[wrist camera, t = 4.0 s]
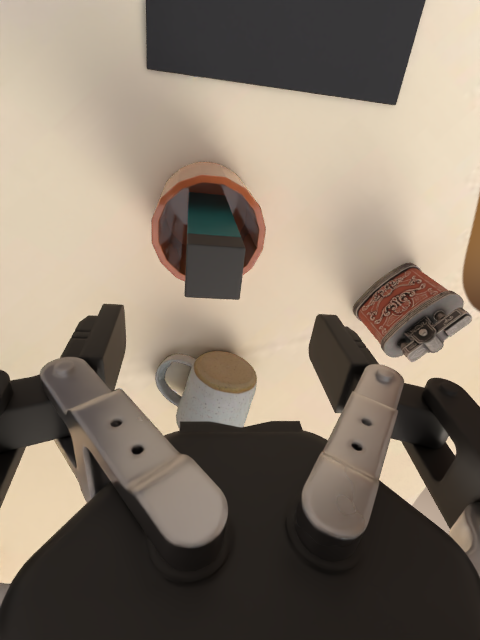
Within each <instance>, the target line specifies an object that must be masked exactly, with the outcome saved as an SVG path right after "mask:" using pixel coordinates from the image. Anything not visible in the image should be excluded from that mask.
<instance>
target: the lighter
mask: <svg viewBox="0 0 480 640" xmlns="http://www.w3.org/2000/svg"><path fill="white" fill-rule="evenodd" d="M353 312H354V314H355V316H356V317H357V318H358V319H359V320H360V321H362V322H363V323H364V324H365V325H366V327H367V328H368V329H369V330H370V332H371V333H372V334H373V335H374V337H375V338H376V339H377V340H378V342H379V343H380V344H381V348H382V349H383V351H384V352H385V353H386V354H387V355H388V356H390V357H399V356H402V355H403V354H404V355H405V356H406V357H407V358H408V360H409V361H411V362H414V361H416V360H418V359H419V358H420V357H422V356H423V355H425V354H426V353H429V352H431V353H435V352H438V351H439V350H441V349H442V347H443V342H444V340H445V339H447V338H448V337H451V336H452V335H454V334H455V333H456V332H458V331H459V330H461V329H462V328H463V327H465V326H466V325H468V324H469V323H470V322H471V321H472V316H471V315H470V314H469V313H468V312H467V311H465V310H464V309H463V299H462V298H461V297H460V296H459V295H458V294H456V293H455V292H453V291H448V290H447V289H445V288H444V287H443V286H441V285H440V284H438V283H437V282H435V281H434V280H433V279H431V278H430V277H428V276H427V275H426V274H424V273H423V272H422V271H421V269H420V268H419V267H417V266H416V265H414V264H412V263H405V264H403V265H401V266H399V267H398V268H396V269H394V270H393V271H391V272H389V273H388V274H387V275H385V276H384V277H383V278H381V279H380V280H379V281H377V282H376V283H375V284H374V285H373V286H372V287H371V288H370V289H368V290H367V291H366V292H365V293H364V294H363V296H362V297H361V298H360V299H359V300H358V301H357V302H356V303H355V305H354V307H353Z"/></svg>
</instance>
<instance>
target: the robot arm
mask: <svg viewBox="0 0 480 640" xmlns="http://www.w3.org/2000/svg"><path fill="white" fill-rule="evenodd" d="M125 349H126V329H125V312H124V306H123V305H116V304H103V306H102V308H101V310H100V312H99V314H98V316H87V317H86V318H85V319H83V320H82V321H80V322H79V324H78V326H77V328H76V329H75V332H74V333H73V335H72V338H71V339H70V341H69V342H68V344H67V346H66V348H65V350H64V352H63V353H62V355H61V357H60V358H59V359H56V360H53V361H51V362H49V363H47V364H46V365H45V366H44V367H43V368H42V369H41V371H40V375H37V376H33V377H29V378H23V379H18V380H12V381H10V378H9V375H8V374H7V373H6V372H4V371H2V370H0V508H1V505H2V503H3V501H4V498H5V496H6V493H7V491H8V489H9V486H10V484H11V481H12V479H13V477H14V474H15V472H16V469H17V467H18V465H19V462H20V460H21V458H22V455H23V453H24V450H25V448H26V446H30V445H34V444H38V443H42V442H46V441H50V440H54V441H55V443H56V444H57V446H58V448H59V449H60V451H61V453H62V454H63V456H64V458H65V459H66V461H67V463H68V464H69V466H70V468H71V469H72V471H73V473H74V474H75V476H76V478H77V480H78V482H79V485H80V488H81V491H82V493H83V496H84V498H85V500H86V502H87V504H86V505H85V506H84V507H83V508H81V509H80V510H79V511H78V512H77V513H76V514H75V515H74V516H73V517H72V518H71V519H70V520H69V521H68V522H67V523H66V524H65V525H64V526H63V527H62V528H61V529H60V530H58V531H57V532H56V533H55V534H54V535H53V536H52V537H51V538H50V539H49V540H48V541H47V542H46V543H45V544H44V545H43V546H42V547H41V548H40V549H39V550H38V551H37V552H35V553H34V554H33V555H32V556H31V557H30V559H29V560H28V561H27V562H26V563H25V564H24V565H23V567H22V568H21V569H20V571H19V572H18V573H17V575H16V576H15V578H14V579H13V581H12V583H11V584H4V583H0V640H480V407H479V406H478V405H477V403H476V402H475V401H474V400H473V399H472V398H471V397H470V395H469V394H468V393H467V392H466V391H465V390H464V389H463V388H462V387H460V386H459V385H457V384H455V383H453V382H451V381H449V380H446V379H442V378H432V379H429V380H428V382H427V384H426V386H425V388H423V387H419V386H415V385H410V384H406V383H404V379H403V377H402V376H401V375H400V374H399V373H398V372H397V371H395V370H393V369H392V368H389V367H387V366H384V365H379V364H378V362H377V361H376V359H375V358H374V357H373V355H372V354H371V353H370V351H369V350H368V348H366V346H365V344H364V343H363V342H362V340H361V339H360V337H359V336H358V335H357V333H355V332H354V331H353V330H351V329H350V328H349V327H344V325H343V324H342V322H341V321H340V319H339V318H338V317H337V316H336V315H325V314H319V315H318V316H317V317H316V320H315V324H314V328H313V332H312V336H311V340H310V343H309V357H310V360H311V362H312V364H313V366H314V368H315V371H316V373H317V375H318V377H319V379H320V381H321V384H322V386H323V388H324V390H325V392H326V394H327V396H328V399H329V401H330V403H331V405H332V407H333V409H334V412H335V413H341V415H340V417H339V419H338V421H337V423H336V425H335V427H334V429H333V431H332V433H331V435H330V437H329V439H328V440H326V439H324V438H322V437H320V436H318V435H316V434H313V433H310V432H307V431H303V430H302V427H301V424H300V421H270V422H266V423H261V424H257V425H252V426H248V427H236V426H231V425H226V424H221V423H216V422H211V421H180V431H177V432H173V433H170V434H167V435H165V436H163V435H162V433H161V432H160V431H159V430H158V429H157V428H156V427H155V426H154V424H153V423H152V422H151V421H150V420H149V419H148V418H147V417H146V416H145V414H144V413H143V412H142V411H141V410H140V409H139V408H138V407H137V406H136V404H135V403H134V402H133V401H132V400H131V399H130V398H129V397H128V396H127V394H126V393H125V392H124V391H123V390H121V389H116V390H114V389H115V386H116V382H117V379H118V375H119V372H120V368H121V365H122V361H123V358H124V354H125ZM448 436H450V438H451V439H452V441H453V442H454V444H455V446H456V457H455V455H454V454H453V452H452V451H451V449H450V448H449V447H448V445H447V444H446V440H447V438H448ZM390 438H392V439H396V440H400V441H402V443H403V445H404V447H405V449H406V450H407V452H408V454H409V456H410V458H411V459H412V461H413V463H414V465H415V467H416V469H417V470H418V472H419V474H420V476H421V478H422V479H423V481H424V483H425V485H426V487H427V488H428V490H429V492H430V494H431V496H432V497H433V499H434V501H435V503H436V505H437V506H438V508H439V510H440V512H441V513H442V515H443V517H444V519H445V521H446V522H447V524H448V526H449V528H450V531H449V535H448V534H447V533H446V532H445V531H443V530H442V529H441V528H440V527H438V526H437V525H436V524H435V523H433V522H432V521H431V520H429V519H428V518H427V517H426V516H424V515H423V514H422V513H420V512H419V511H418V510H417V509H415V508H414V507H413V506H411V505H410V504H409V503H408V502H406V501H405V500H404V499H403V498H401V497H400V496H399V495H397V494H396V493H395V492H394V491H392V490H391V489H390V488H389V487H387V486H386V485H385V484H383V483H382V482H381V481H380V480H379V477H380V474H381V470H382V467H383V463H384V460H385V456H386V452H387V449H388V445H389V442H390Z"/></svg>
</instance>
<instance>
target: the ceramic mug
mask: <svg viewBox="0 0 480 640" xmlns="http://www.w3.org/2000/svg"><path fill="white" fill-rule="evenodd" d="M171 362H179V363H183V364H185V365H188V366H190V367H191V370H190V373H189V376H188V380H187V383H186V386H185V389H184V392H183V395H182V397H181V396H180V395H178V394H177V393H175V392H174V391H173V390H172V389H171V388H170V387H169V386H168V385H167V383H166V381H165V376H164V375H165V372H166V369H167V367H169V366H170V364H171ZM155 380H156V385H157V387H158V389H159V391H160V392H161V393H162V395H163V396H164V397H165V398H166V399H167V400H169V401H170V402H171V403H173V404H174V405H176V406H177V407H178V410H177V414H176V420H177V425H178V427H179V428H180V421H211V422H216V423H221V424H226V425H231V426H236V427H244V423H245V420H246V418H247V414H248V411H249V408H250V405H251V402H252V399H253V396H254V393H255V390H256V383H257V376H256V373H255V371H254V369H253V368H252V366H251V365H250V364H249V363H248V362H247V361H245V360H244V359H243V358H241V357H239V356H237V355H235V354H232V353H229V352H223V351H212V352H207V353H205V354H203V355H201V356H199V357H198V358H197V359H195V358H193V357H191V356H188V355H183V354H174V355H171V356H169V357H167V358H166V359H165V360H164V361H163V362H162V363H161V364H160V365H159V367H158V369H157V372H156V377H155Z"/></svg>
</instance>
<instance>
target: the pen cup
mask: <svg viewBox="0 0 480 640" xmlns="http://www.w3.org/2000/svg"><path fill="white" fill-rule="evenodd" d="M189 192H194V193H205V194H215V195H225V196H226V199H227V201H228V204H229V207H230V209H231V212H232V214H233V217H234V220H235V222H236V225H237V227H238V230H239V232H240V235H241V238H242V240H243V243H244V246H245V248H246V251H245V259H244V267H243V275H244V274H245V273H246V272H248V271H249V270H250V269H251V268H252V267H253V266H254V264H255V262H256V260H257V259H258V257H259V255H260V254H261V252H262V250H263V244H264V238H265V231H266V227H265V223H264V219H263V215H262V211H261V208H260V206H259V205H258V203H257V202H256V200H255V199H254V197H253V196H252V195H251V193H250V192H249V190H248V189H247V188H246V186H245V185H244V184H243V182H242V181H241V180H240V178H239V177H238V176H237V174H236V173H234V172H232V171H231V170H229V169H228V168H226V167H224V166H222V165H220V164H216V163H212V162H196V163H192V164H189V165H187V166H184V167H182V168H180V169H179V170H178V171H177V172H175V173H174V174H173V175H172V176H171V177H170V179H168V180H167V182H166V184H165V187H164V189H163V191H162V194H161V196H160V198H159V201H158V204H157V206H156V209H155V212H154V214H153V217H152V244H153V246H154V248H155V251H156V253H157V255H158V258H159V260H160V262H161V263H162V264H163V265H164V266H165V267H166V268H167V269H168V270H169V271H170V272H171V273H172V274H173V275H174V276H175V277H176V278H178V279H181V280H183V281H185V273H186V248H187V224H188V200H189ZM243 275H242V276H243Z"/></svg>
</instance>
